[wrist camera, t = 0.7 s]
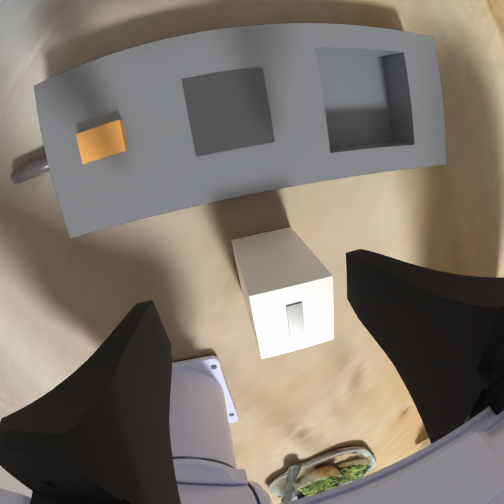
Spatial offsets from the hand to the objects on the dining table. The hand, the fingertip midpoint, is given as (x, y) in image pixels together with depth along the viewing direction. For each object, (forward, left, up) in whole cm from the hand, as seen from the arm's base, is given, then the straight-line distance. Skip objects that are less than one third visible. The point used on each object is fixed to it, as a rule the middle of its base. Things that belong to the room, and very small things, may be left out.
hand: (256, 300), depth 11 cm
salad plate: (-43, -6, -10) cm, 45 cm away
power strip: (+7, -1, -9) cm, 12 cm away
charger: (-3, -2, -10) cm, 10 cm away
